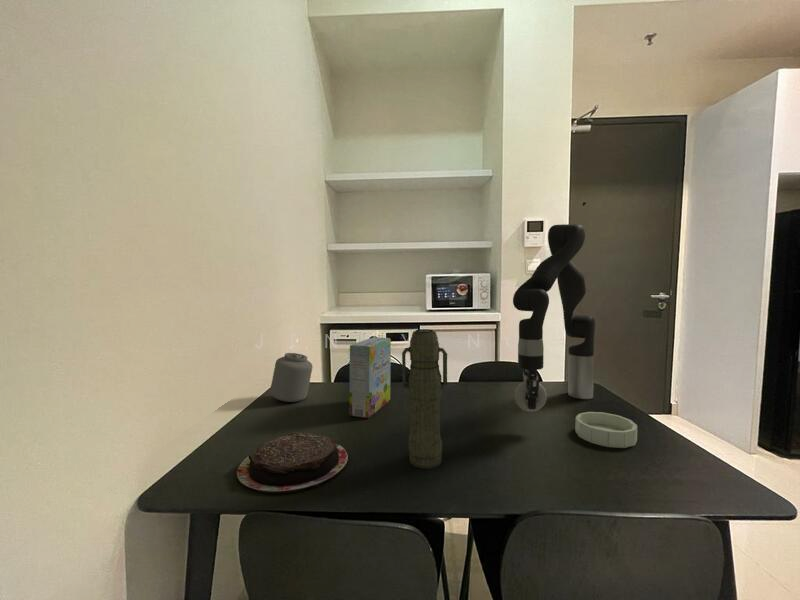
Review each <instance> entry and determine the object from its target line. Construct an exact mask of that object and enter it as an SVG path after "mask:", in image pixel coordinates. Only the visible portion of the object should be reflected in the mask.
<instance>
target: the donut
mask: <svg viewBox="0 0 800 600" xmlns="http://www.w3.org/2000/svg"><path fill="white" fill-rule="evenodd" d="M528 386H529V385H528ZM527 393H528V390H527V389H526V381H525V382H524V381H523V382H521V383H520V384H518V386H517V387H516V389H515V391H514V396H513V397H514V401H515V403H516V406H518V407H519V408H520V409H521V410H523V411H525V412H529V413H532V412H537V411H539V410H541V409H542V408H543V407H544V406H545V404H546V402H547V398H548V395H547V390H546V389H545V386H544V385H543V384H541V383H540V382H539V389H538V397H536V409H529V408H528V400H527V399H526V394H527ZM532 393H534V391H533V392H532Z"/></svg>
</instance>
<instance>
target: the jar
mask: <svg viewBox="0 0 800 600" xmlns="http://www.w3.org/2000/svg"><path fill="white" fill-rule="evenodd" d="M296 343H299V342H298V338H296ZM292 347H293V348H294V345H292ZM292 347H290V349H292ZM307 348H308V346H307V347H306V349H307ZM312 372H313V364H312V363H311V361H309V360H308V356H307V355H304V354H301V353H296V352H287V353H286V352H285V353H284V355H283V356H281V357H279V358H278V359H276V360H275V364H274V369H273V375H272V378H271V379H272V380H271V384H270V390H269V392H270V395H271V396H272V397H273V398H275V399H276V400H279V401H281V402H288V403H296V402H300V401H303V400H304V399H305V398H307V396H308V392H309V388H310V382H311V377H312Z"/></svg>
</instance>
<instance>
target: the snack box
mask: <svg viewBox="0 0 800 600" xmlns="http://www.w3.org/2000/svg"><path fill="white" fill-rule="evenodd" d="M391 341H392V339H391V338H390V337H377V336H376V337H375V336H374V337H370V338H368V339H364V340H361V341H359V342H355V343H353V344H351V345H349V398H348V399H349V401H348V403H349V405H348V406H349V407H348V409H349V412H348V414H349V416H350V417H351V416H352V417H356V418H365V419H370V418H371V417H372V416H373V415H374V414H376V413H377V412H378V411H379V410H380V409H382V407H384V406H385V405H386V404H387V403H388V402H390V401H391V359H392V357H391V351H392V350H391V348H392V347H391V345H392V343H391ZM389 400H390V401H389Z"/></svg>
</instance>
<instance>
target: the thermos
mask: <svg viewBox="0 0 800 600" xmlns="http://www.w3.org/2000/svg"><path fill="white" fill-rule="evenodd" d="M440 352H441V353H442V374H441V371H440V365H439V361H440ZM407 353H409V360H410V365H409V372H408V375H407V376H406V374H407V372H406V370H407V369H406V354H407ZM401 358H402V359H401V364H402V365H401V367H402V370H401V371H402V372H401V373H402V375H401V376H402V387H403V388H406V389H407V393H408V398H409V413H410V414H409V420H410V423H409V425H410V430H409V435H408V442H407V443H408V453H409V457H408V460H409V463H410V464H411V466H414V467H415V468H419V469H435V468H438V466H440V465H441V464H442V462H443V461H442V454H443V440H442V437H441V411H440V410H441V403H440V402H441V401H440V400H441V398H442V394H443V393H442V392H443V391H442V390H443V388H446V386H448V353H447V351H446V349H444V347H440V342H439V337H438V334H437V332H436V331H435V330H433V329H430V328H429V329H426V328H423V329H415V330H414V331H413V332H412V334H411V337H410V341H409V346H408V347H405V348H404V349H403V351H402V352H401ZM406 377H407V378H406ZM406 379H407V380H406Z"/></svg>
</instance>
